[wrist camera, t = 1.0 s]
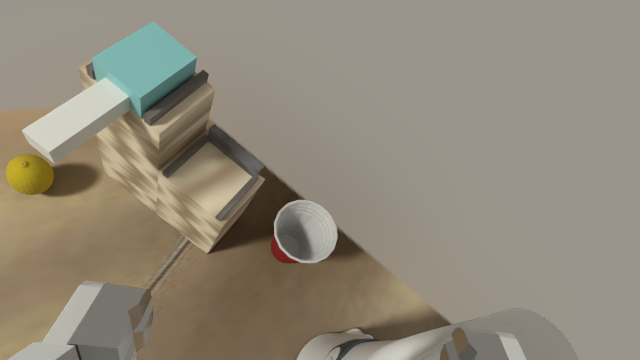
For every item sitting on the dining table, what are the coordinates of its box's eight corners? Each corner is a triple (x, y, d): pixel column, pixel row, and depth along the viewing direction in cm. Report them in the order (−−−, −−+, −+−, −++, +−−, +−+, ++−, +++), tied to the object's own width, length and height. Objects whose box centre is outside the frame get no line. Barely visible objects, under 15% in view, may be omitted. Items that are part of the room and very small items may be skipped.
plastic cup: (291, 209, 74) (313, 187, 64) (322, 255, 73) (350, 240, 63) (245, 237, 69) (261, 217, 59) (277, 288, 67) (300, 277, 57)
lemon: (45, 162, 61) (32, 139, 54) (66, 188, 61) (55, 168, 54) (7, 180, 58) (-12, 158, 51) (29, 208, 58) (13, 189, 51)
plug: (193, 79, 45) (196, 57, 41) (67, 174, 36) (58, 155, 32) (153, 46, 45) (153, 21, 41) (16, 133, 35) (2, 110, 32)
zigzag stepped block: (240, 216, 70) (289, 142, 45) (206, 254, 65) (241, 194, 40) (145, 139, 69) (142, 19, 44) (105, 171, 64) (75, 57, 39)
